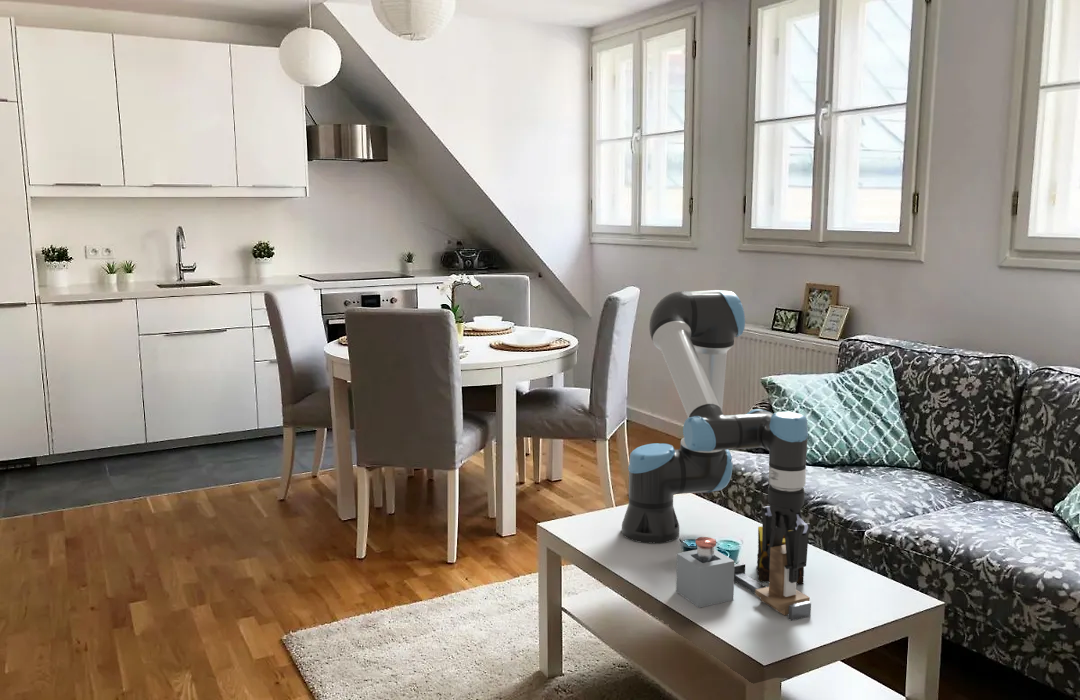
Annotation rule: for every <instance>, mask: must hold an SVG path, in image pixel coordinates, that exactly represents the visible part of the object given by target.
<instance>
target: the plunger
mask: <svg viewBox="0 0 1080 700" xmlns="http://www.w3.org/2000/svg"><path fill="white" fill-rule="evenodd" d="M695 545H696V548H697V549H696V550H697V560H698V561H700V562H701V563H705V562H710V561H714V549H715V547H716V545H717V540H716V539H715V538H713V537H709V536H701V537H696V538H695Z"/></svg>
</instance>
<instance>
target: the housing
mask: <svg viewBox="0 0 1080 700" xmlns="http://www.w3.org/2000/svg"><path fill="white" fill-rule="evenodd" d="M735 564H736V563H735V560H733V559H732V558H731V557H728V556H727V555H725V554H723V553H721V552H720V551H718V550H717V549H715V548H714V561H710V562H705V563H701V562H700V561H698V560H697V549H692V550H688V551H686V550H685V551H683V552H677V553H676V580H675V592H676V593H678V594H679V595H681V596H682V597H683V598H684V599H686V600H687V601H689V602H690V603H692V604H693V605H695V607H697V608H703V607H707V606H713V605H717V604H723V603H727V602H731V601H734V593H735V590H734V589H735V581H734V565H735Z"/></svg>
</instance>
